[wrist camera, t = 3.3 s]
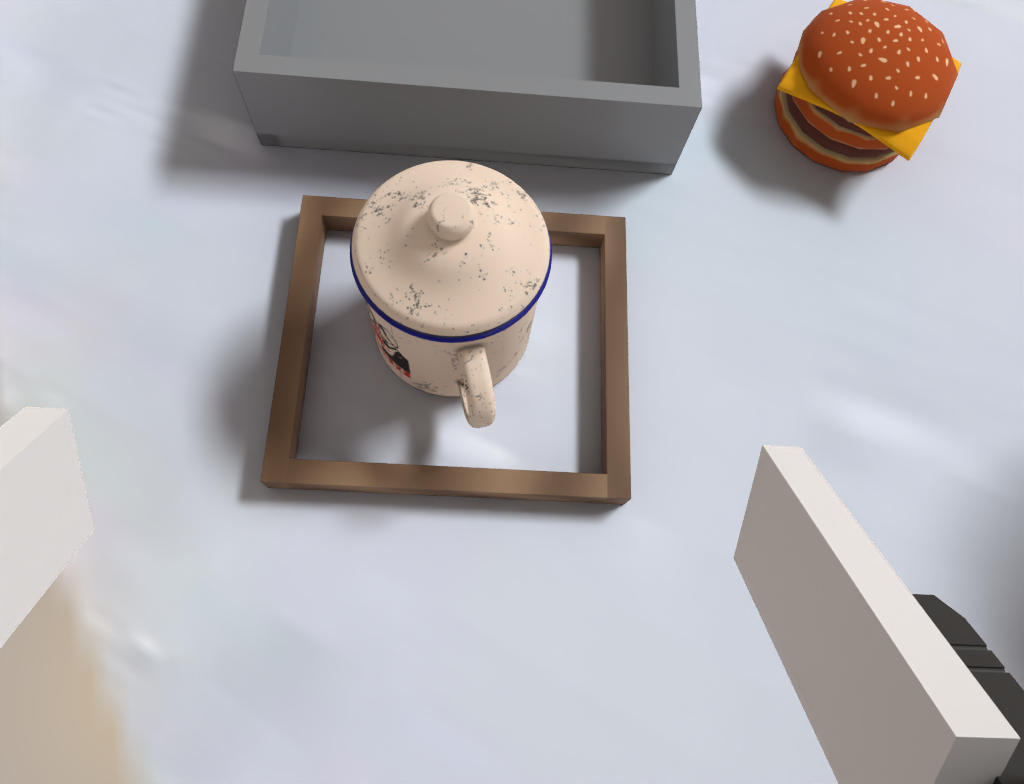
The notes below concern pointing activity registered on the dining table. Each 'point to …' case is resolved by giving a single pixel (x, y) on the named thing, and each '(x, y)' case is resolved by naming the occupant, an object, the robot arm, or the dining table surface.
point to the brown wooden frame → (442, 479)
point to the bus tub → (476, 79)
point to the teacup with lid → (451, 277)
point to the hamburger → (864, 84)
